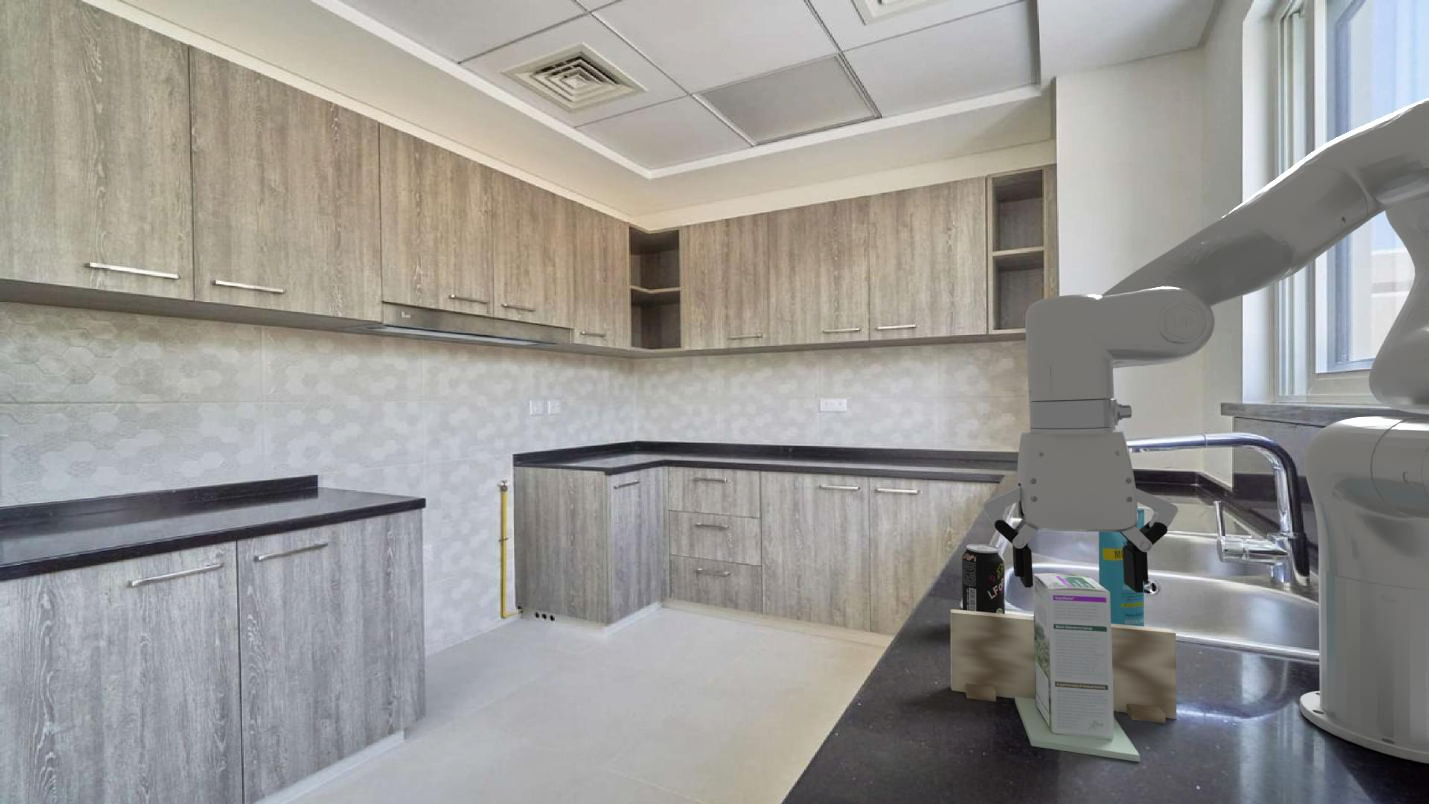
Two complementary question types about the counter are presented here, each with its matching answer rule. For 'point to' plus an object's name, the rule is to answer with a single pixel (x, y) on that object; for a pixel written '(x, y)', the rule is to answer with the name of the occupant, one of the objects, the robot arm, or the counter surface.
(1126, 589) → the tube
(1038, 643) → the syrup box
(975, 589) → the beverage can
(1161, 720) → the birch board
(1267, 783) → the counter surface
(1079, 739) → the green pad
